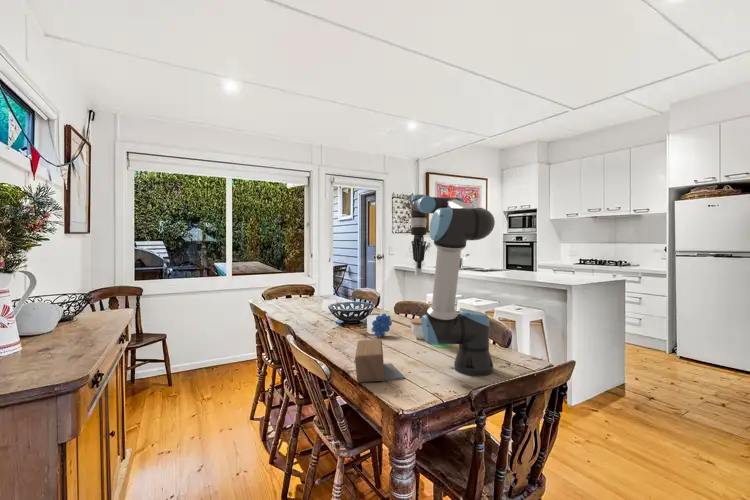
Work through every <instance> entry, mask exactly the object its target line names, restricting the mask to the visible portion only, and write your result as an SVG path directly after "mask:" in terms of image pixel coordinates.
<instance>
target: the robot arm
mask: <svg viewBox="0 0 750 500" xmlns="http://www.w3.org/2000/svg"><path fill="white" fill-rule="evenodd" d="M427 214H432V216H431V218H430V222H429V238H430V239H431V240H432V241H433V245H434V246H435V247H436V248H437V249H436V257H435V258H436V260H435V270H434V281H433V291H432V300H431V306H429V308H427V312H426V313H427V314H423V315H422V316H421V318H422V319H421V323H422V331H423V335H424V338H425V339H424V341H425V342H426V344H427V345H430V346H433V345H458V351H457V353H456V356H455V360H454V363H453V364H454V366H453V368H454V370H455V371H456V372H458V373H461V374H463V375H467V376H477V377H482V376H488V375H492V374H493V373H494V362H493V361H492V357H491V353H490V327H491V326H490V318H489V316H488V315H487V313H484V312H481V311H478V310H470V309H459V311H457V310H456V309H455V305H456V297H457V288H458V280H459V279H458V278H459V271H460V270H459V269H460V263H461V253H462V250H464V249H465V248H466V247H467V241H479V240H482V239H485V238H486V237H488V236H489V235H490V234H492V232H493V230H494V228H495V224H496V223H495V222H496V221H495V217H494V214H493V213H491V211H489V210H488V209H486V208H483V207H474V206H473V205H470V204H467V203H465V200H464V198H462V197H456V196H455V197H446V196H445V197H442V196H441V197H439V196H430V195H426V194H412V195H411V200H410V226H411V228H410V234H411V236H413V240H411V247H412V249H411V250H412V259H413V261H414V264H415V265H414V270H415V271H414V275H415V276H422V267H423V266H422V262H423V261H424V260H425V252H426V245H427V241H426V240H425V238H424V237H425V236H426V235H427V222H428V220H427Z"/></svg>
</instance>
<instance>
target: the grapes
mask: <svg viewBox="0 0 750 500" xmlns="http://www.w3.org/2000/svg"><path fill="white" fill-rule="evenodd" d="M392 324H393V321H391V316H390V315H387V314H386V313H382V314H381V315H379V314H378V315H376V316H375V319H374V320H373V321H372V323H371V326H372V327H371V332H373V333H374V335H375V336H380V337H381V336H385V334H386V333H388V332H390V329H391V326H392Z"/></svg>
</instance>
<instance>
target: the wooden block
mask: <svg viewBox="0 0 750 500" xmlns="http://www.w3.org/2000/svg"><path fill="white" fill-rule="evenodd" d="M354 359H355V360H354V362H355V374H356V381H357V382H358V383H368V382H371V383H372V382H383V381H382V380H384V364H385V363H384V350H383V341H382V339H381V338H373V339H362V340H358V341H357V344H356V351H355V357H354Z"/></svg>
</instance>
